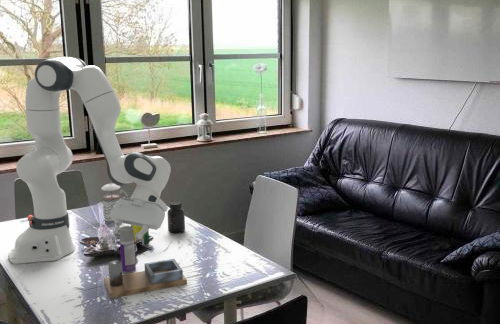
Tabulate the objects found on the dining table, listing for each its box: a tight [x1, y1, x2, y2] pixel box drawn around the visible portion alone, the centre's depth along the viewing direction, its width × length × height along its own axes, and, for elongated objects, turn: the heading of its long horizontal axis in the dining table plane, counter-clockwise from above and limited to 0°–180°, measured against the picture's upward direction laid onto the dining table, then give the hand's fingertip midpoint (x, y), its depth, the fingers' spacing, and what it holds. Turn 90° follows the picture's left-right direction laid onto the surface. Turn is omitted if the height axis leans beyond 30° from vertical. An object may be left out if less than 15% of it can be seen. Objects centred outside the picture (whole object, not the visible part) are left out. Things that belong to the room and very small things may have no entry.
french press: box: [101, 179, 129, 222], centre depth 231 cm, size 10×12×25 cm
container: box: [119, 225, 137, 274], centre depth 179 cm, size 5×5×15 cm
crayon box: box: [130, 225, 150, 246], centre depth 204 cm, size 7×3×12 cm, turn 50°
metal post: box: [107, 259, 124, 287], centre depth 166 cm, size 4×4×7 cm
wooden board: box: [103, 258, 188, 299], centre depth 170 cm, size 24×12×4 cm, turn 113°
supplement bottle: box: [166, 201, 186, 235], centre depth 215 cm, size 7×7×12 cm
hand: (126, 235), depth 177 cm, fingers open, 8 cm apart
